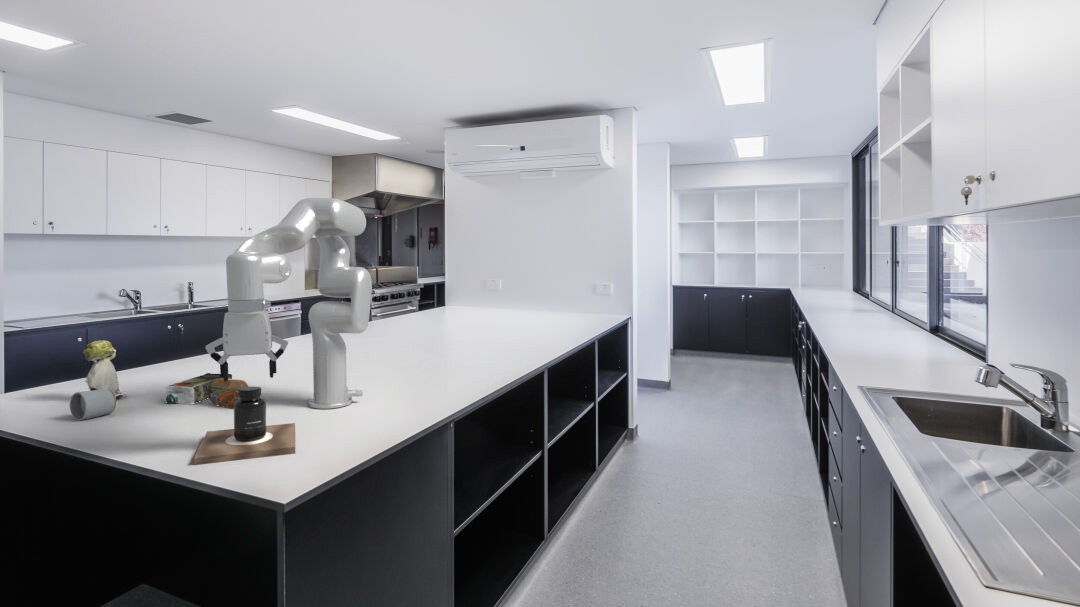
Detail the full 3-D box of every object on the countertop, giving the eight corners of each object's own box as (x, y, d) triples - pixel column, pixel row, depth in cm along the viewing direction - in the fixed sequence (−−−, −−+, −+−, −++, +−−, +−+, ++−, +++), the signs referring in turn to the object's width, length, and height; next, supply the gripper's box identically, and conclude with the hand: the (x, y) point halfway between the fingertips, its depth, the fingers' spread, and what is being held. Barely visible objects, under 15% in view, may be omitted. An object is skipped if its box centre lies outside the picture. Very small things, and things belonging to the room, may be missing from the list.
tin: (207, 404, 169) (206, 377, 168) (216, 402, 172) (215, 375, 171) (243, 410, 163) (242, 382, 162) (252, 407, 166) (251, 380, 165)
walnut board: (295, 428, 146) (295, 422, 146) (295, 453, 128) (295, 446, 128) (207, 437, 138) (207, 430, 138) (194, 464, 120) (193, 457, 120)
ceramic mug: (119, 414, 157) (117, 387, 156) (86, 422, 149) (84, 394, 149) (95, 410, 161) (94, 384, 160) (62, 417, 153) (60, 390, 153)
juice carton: (234, 390, 188) (233, 373, 187) (192, 406, 168) (192, 386, 167) (206, 389, 188) (205, 372, 188) (161, 404, 168) (161, 385, 168)
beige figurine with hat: (132, 393, 181) (130, 337, 179) (117, 403, 168) (114, 343, 167) (88, 395, 177) (85, 338, 175) (69, 406, 164) (66, 344, 163)
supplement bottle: (253, 443, 129) (251, 392, 128) (227, 441, 130) (226, 390, 130) (272, 434, 136) (271, 386, 135) (248, 432, 137) (247, 384, 136)
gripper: (286, 304, 137) (289, 372, 139) (206, 306, 131) (209, 377, 132) (286, 307, 131) (289, 378, 132) (201, 309, 124) (205, 385, 125)
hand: (249, 378), depth 132 cm, fingers open, 9 cm apart
